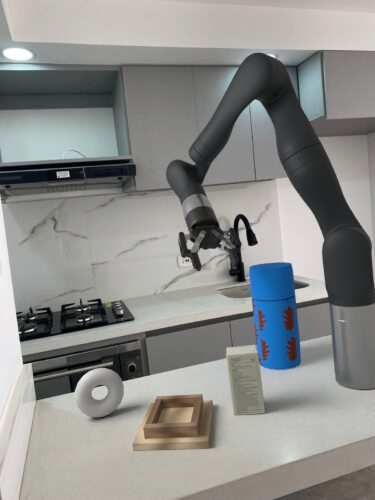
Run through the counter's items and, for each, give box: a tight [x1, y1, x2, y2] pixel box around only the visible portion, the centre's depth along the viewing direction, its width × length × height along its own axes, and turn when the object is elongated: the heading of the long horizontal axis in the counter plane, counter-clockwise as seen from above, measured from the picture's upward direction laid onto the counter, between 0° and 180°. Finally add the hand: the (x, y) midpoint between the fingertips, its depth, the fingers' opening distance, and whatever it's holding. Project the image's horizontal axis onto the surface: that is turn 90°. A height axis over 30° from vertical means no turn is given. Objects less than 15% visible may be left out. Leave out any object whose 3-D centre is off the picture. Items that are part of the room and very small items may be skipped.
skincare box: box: [225, 344, 266, 416], centre depth 70 cm, size 6×4×12 cm
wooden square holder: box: [132, 393, 214, 451], centre depth 67 cm, size 13×14×3 cm
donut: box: [74, 367, 125, 418], centre depth 74 cm, size 10×4×10 cm, turn 109°
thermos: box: [248, 261, 302, 371], centre depth 91 cm, size 11×11×25 cm
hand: (217, 266), depth 79 cm, fingers open, 8 cm apart
